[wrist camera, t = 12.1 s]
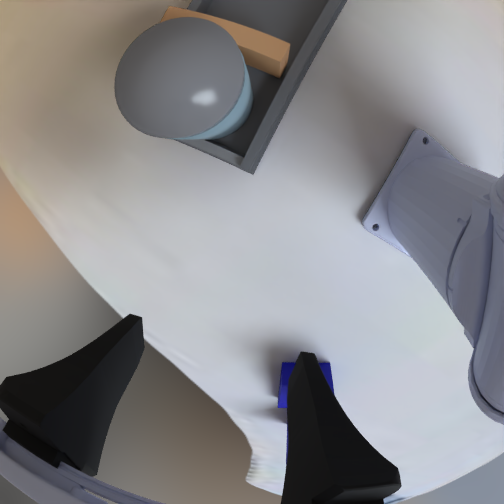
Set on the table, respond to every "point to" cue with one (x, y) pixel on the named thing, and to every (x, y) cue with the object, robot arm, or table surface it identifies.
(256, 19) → the tray
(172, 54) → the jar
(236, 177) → the table surface
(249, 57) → the bar
